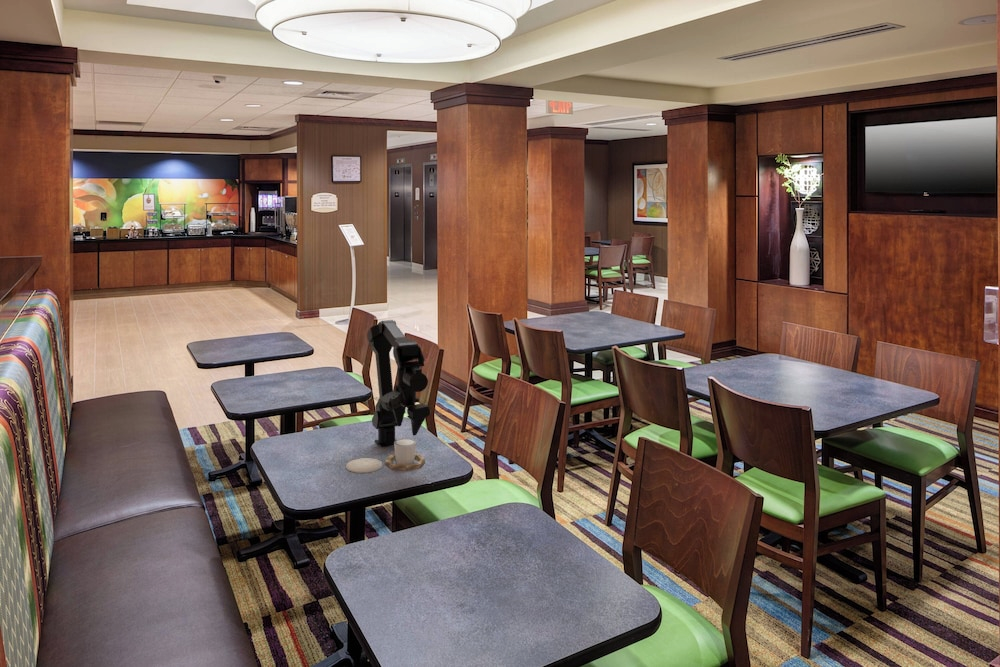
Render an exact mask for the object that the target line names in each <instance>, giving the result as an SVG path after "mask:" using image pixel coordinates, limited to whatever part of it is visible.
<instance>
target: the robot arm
mask: <svg viewBox="0 0 1000 667" xmlns="http://www.w3.org/2000/svg"><path fill="white" fill-rule="evenodd" d="M366 338H367V341H368V343H369V348H370V349H371V351H372V353H374V355H375V363H376V365H375V366H376V373H377V374H376V375H377V383H378V384H377V385H378V394H379V397H378V400H377V402H376V404H375V411H374V413H373V415H372V418H371V423H372V426H373V427H374V428H375V430H377V439H375V440H374V443H375V444H377V445H378V446H379V447H381V448H386V447H391V446H394V442H395V441H396V440H397V439H396V427H401V426H402V424H403V420H404V417H405V413H407V416H406V417H407V418H408V419H409V420H410V423H411V433H412V436H416V435H418V433H419V430H420V428H421V426H422V425H423V423H424V422H425V419H426V418H428V417H429V416H431V414H432V410H431V407H430V406H429V405H426V404H425V403H419V402H420V398H418V397H417V393H421V392H424V390H425V389H426V388H427V387H428V384H429V379H428V376H427V375H426V374H425V373H423V372H422V368H423V367H425V358H424V354H423V352H422V348H421V346H420V345H419V344H418V342H417V341H416V340H414V339H412V338H408V337H406V335H405V334H404V333H403V332H402V330H401V329H400V328H399V327H398V326H397V323H396V321H395V320H393V319H390V320H381V321H379V322H377V324H375V325H372V326H371V327H369V329H368V330H367V332H366ZM392 348H393V349H392ZM391 351H392V355H393V358H394V362H396V367H397V368H396V369H397V372H396V373H397V375H396V376H397V384H393V375H392V367H391V366H392V365H391V364H392V363H391V356H390V353H391ZM421 367H422V368H421ZM393 386H394V387H393ZM416 403H417V404H416ZM406 408H407V409H406ZM406 411H407V412H406Z"/></svg>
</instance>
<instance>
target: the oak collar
mask: <svg viewBox="0 0 1000 667" xmlns="http://www.w3.org/2000/svg"><path fill="white" fill-rule="evenodd" d="M415 459H416V460H417V462H414V464H410V465H398V464H396V463H394V462H393V461H394V460H396V456H395V453H394V454H390V455H389V456H388V457H387V458H386V459H385V465H386V466H387V467H389V469H391V470H394V471H395V470H396V471H405V472H406V471H410V470H416V469H420V468H422V466H423V465H424V464H425V463H426V458H425V457H423V456H422V455H421V454H420V453H417V452H415ZM424 462H425V463H424Z"/></svg>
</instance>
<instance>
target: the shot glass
mask: <svg viewBox="0 0 1000 667" xmlns="http://www.w3.org/2000/svg"><path fill="white" fill-rule="evenodd" d="M395 440H396V441H395V442H394V445H393V446H394V454H395V456H396V459H395V464H398V465H410V464H415V459H416V458H415V453H416V446H417V440H415V439H413V438H399V439H395Z"/></svg>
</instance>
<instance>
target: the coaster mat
mask: <svg viewBox="0 0 1000 667" xmlns="http://www.w3.org/2000/svg"><path fill="white" fill-rule="evenodd" d="M345 465H346V466H345V468H346V470H347V471H348V472H351V473H355V474H367V473H372V472H373V473H374V472H376V471H379V470H381V468H382V467H383V462H382V461H381V460H379V459H376V458H372V457H371V458H370V457H362V458H356V459H353V460H351V461H348V462H347V463H346V464H345Z"/></svg>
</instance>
